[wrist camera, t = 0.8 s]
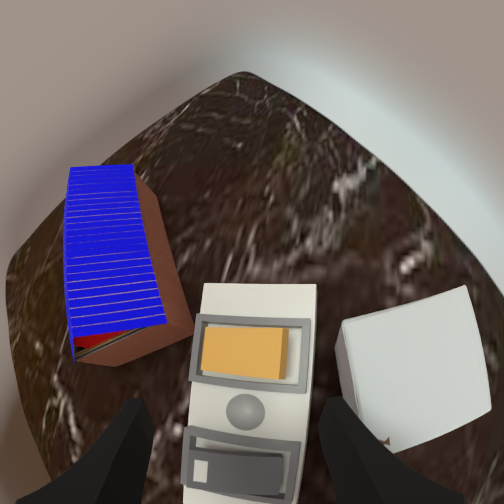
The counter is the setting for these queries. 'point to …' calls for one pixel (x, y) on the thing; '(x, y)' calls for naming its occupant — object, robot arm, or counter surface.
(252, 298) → the cream switch panel
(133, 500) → the robot arm
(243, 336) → the amber rocker
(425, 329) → the supplement box
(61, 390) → the counter surface
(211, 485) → the charcoal rocker
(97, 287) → the house
